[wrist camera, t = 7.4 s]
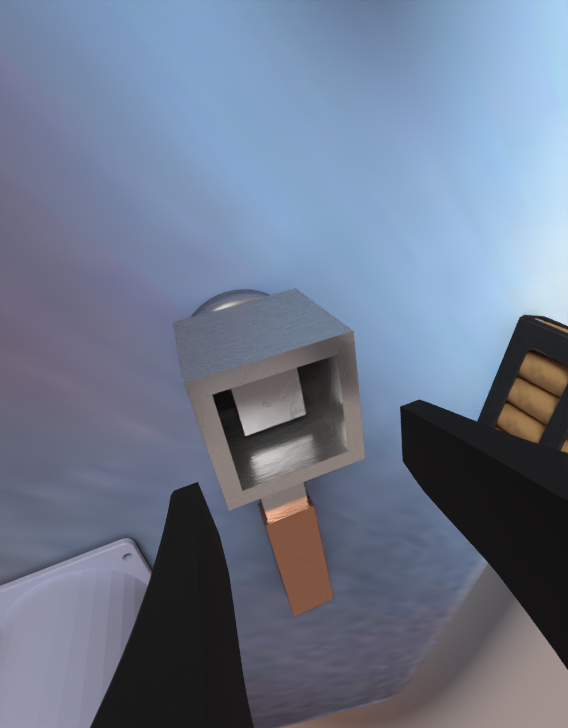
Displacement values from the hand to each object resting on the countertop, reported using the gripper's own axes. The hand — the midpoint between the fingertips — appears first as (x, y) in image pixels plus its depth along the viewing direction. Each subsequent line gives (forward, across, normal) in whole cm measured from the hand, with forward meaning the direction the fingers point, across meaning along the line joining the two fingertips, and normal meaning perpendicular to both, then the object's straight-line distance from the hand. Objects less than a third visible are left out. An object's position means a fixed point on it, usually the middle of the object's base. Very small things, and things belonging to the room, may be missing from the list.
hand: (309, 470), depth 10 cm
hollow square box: (+7, 0, 0) cm, 7 cm away
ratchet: (+8, 0, +8) cm, 11 cm away
